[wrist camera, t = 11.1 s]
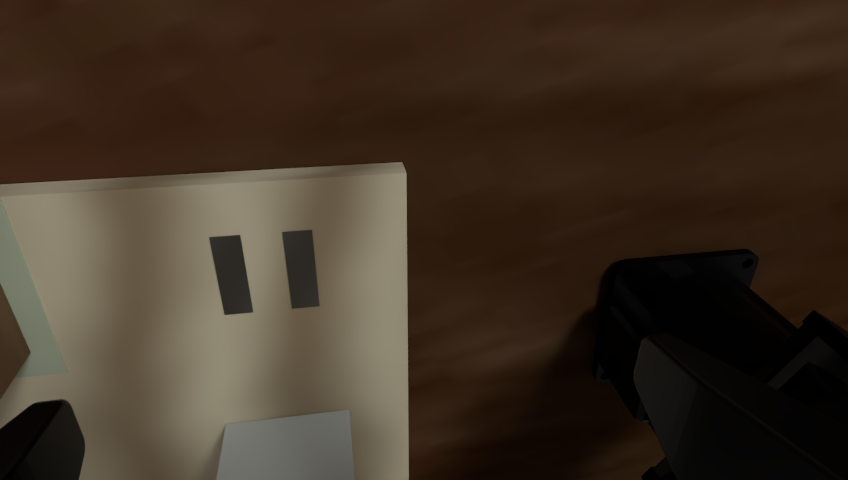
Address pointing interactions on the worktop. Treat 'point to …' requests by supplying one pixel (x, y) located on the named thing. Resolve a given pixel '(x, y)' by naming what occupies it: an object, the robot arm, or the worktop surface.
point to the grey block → (289, 448)
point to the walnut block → (10, 345)
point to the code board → (212, 310)
